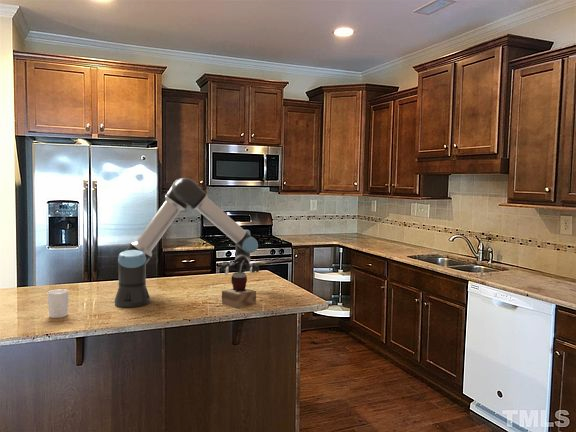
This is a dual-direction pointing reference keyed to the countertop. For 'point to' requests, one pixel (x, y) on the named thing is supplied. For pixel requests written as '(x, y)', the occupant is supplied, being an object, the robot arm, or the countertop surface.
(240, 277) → the mate gourd
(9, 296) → the countertop surface
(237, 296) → the brown cardboard box
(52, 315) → the white cup
